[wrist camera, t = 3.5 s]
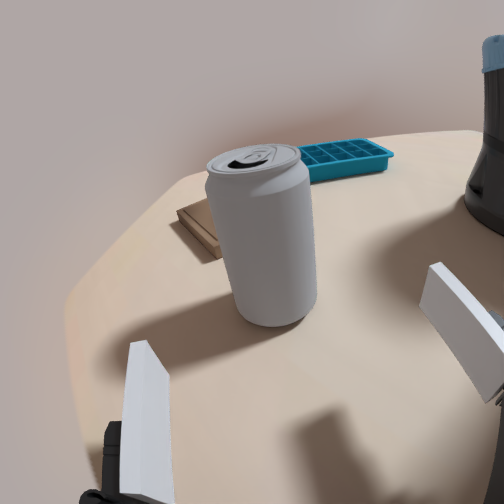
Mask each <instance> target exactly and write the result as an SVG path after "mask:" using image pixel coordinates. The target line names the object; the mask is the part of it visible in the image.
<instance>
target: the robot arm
mask: <svg viewBox="0 0 504 504" xmlns="http://www.w3.org/2000/svg"><path fill="white" fill-rule="evenodd" d="M482 52H483V69H482V73H484V85H485V87H484V90H485V91H484V93H485V102H484V105H485V106H484V133H483V145H482V149H481V151H480V154H479V156H478V159H477V161H476V163H475V166H474V168H473V170H472V172H471V175H470V177H469V179H468V181H467V184H466V191H465V197H464V201H465V204H466V207H467V208H468V210H469V211H470V212H471V213H472V214H473V215H474V216H475V217H476V218H477V219H478V220H479V221H481V222H482V223H483V224H485V225H486V226H488V227H489V228H491V229H493V230H494V231H496V232H498V233H500V234H502V235H504V35H495V36H491V37H488V38H487V39H486V40H485V41H484V42H483V46H482ZM419 308H420V309H421V310H422V311H423V313H424V314H425V315H426V317H427V318H428V319H429V321H430V322H431V323H432V325H433V326H434V327H435V329H436V330H437V332H438V333H439V334H440V336H441V337H442V338H443V340H444V341H445V343H446V344H447V345H448V347H449V348H450V350H451V351H452V353H453V354H454V356H455V357H456V358H457V360H458V361H459V363H460V364H461V366H462V367H463V369H464V370H465V372H466V373H467V375H468V376H469V378H470V379H471V381H472V383H473V384H474V386H475V387H476V389H477V390H478V392H479V394H480V395H481V397H482V399H483V400H484V402H485V404H486V403H487V402H488V401H490V400H491V399H493V398H494V397H495V396H497V394H498V393H499V392H500V391H501V390H502V389H503V390H504V319H503V318H502V317H501V316H500V315H498V314H497V313H495V312H494V311H492V310H491V311H489V312H487V311H486V310H485V308H484V307H483V306H482V305H481V304H480V303H479V302H478V300H477V299H476V298H475V297H474V296H473V295H472V294H471V293H470V292H469V291H468V290H467V288H466V287H465V286H464V285H463V284H462V283H461V282H460V281H459V280H458V279H457V278H456V277H455V276H454V275H453V274H452V273H451V272H450V271H449V270H448V269H447V268H446V267H445V266H444V265H443V264H442V263H441V262H438V263H435V264H433V265H430V266H429V269H428V273H427V278H426V282H425V286H424V290H423V294H422V297H421V301H420V305H419ZM501 401H502V402H501ZM500 402H501V403H500ZM499 403H500V405H499V406H502V408H501V419H500V427H499V435H498V442H497V448H496V453H495V459H494V464H493V469H492V473H491V477H490V481H489V485H488V489H487V493H486V497H485V500H484V503H483V504H504V392H503V393H502V394H501V396H500V397H499V398H498V399H497V401H496V403H495V405H496V406H497V405H498V404H499ZM103 455H104V456H103V465H102V489H101V491H98V490H96V489H90V490H87V491H85V492H84V493H83V494H82V495H81V497H80V500H79V504H175V499H174V488H173V475H172V459H171V439H170V402H169V374H168V372H167V371H166V370H165V368H164V367H163V365H162V364H161V362H160V361H159V359H158V358H157V356H156V354H155V353H154V351H153V350H152V348H151V347H150V345H149V344H148V342H147V340H143V341H137V342H131V343H130V349H129V356H128V364H127V372H126V381H125V391H124V401H123V413H122V421H110V422H109V424H108V427H107V429H106V431H105V435H104V448H103Z"/></svg>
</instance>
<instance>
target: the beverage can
mask: <svg viewBox="0 0 504 504" xmlns="http://www.w3.org/2000/svg"><path fill="white" fill-rule="evenodd" d="M300 158H301V153H300V150H299V149H298V148H297V147H294V146H291V145H286V144H261V145H253V146H247V147H243V148H239V149H235V150H231V151H228V152H226V153H223V154H221V155H219V156H217V157H215V158H213V159H212V160H210V161H209V162H208V164H207V166H206V167H207V172H208V173H209V176H208V179H207V181H206V184H205V190H206V194H207V198H208V202H209V206H210V210H211V214H212V218H213V222H214V226H215V229H216V233H217V237H218V241H219V245H220V248H221V252H222V256H223V259H224V263H225V267H226V271H227V274H228V278H229V281H230V285H231V289H232V292H233V296H234V299H235V303H236V306H237V309H238V311H239V313H240V314H241V315H242V316H243V317H244V318H245V319H246V320H248V321H250V322H251V323H254V324H257V325H260V326H266V327H278V326H284V325H288V324H291V323H294V322H296V321H298V320H300V319H301V318H303V317H304V316H305V315H307V314H308V313H309V312H310V311H311V309H312V308H313V306H314V304H315V302H316V298H317V282H316V261H315V243H314V227H313V213H312V201H311V189H310V178H309V170H308V168H307V167H306V165H305V164H304V163H303V162H302V161H301V160H300Z"/></svg>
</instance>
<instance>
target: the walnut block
mask: <svg viewBox="0 0 504 504" xmlns="http://www.w3.org/2000/svg"><path fill="white" fill-rule="evenodd" d="M176 212H177V215H178V218H179V221H180V222H181V223H182V224H183V225H184V226H185V227H186V228H187V229H188V230H189V231H190V232H191V233H192V234H193V235H194V236H195V237H196V238H197V239H198V240H199V241H200V242H201V243H202V244H203V245H204V246H205V247H206V248H207V250H208V251H209V252H210V253H211V254H212V255H213V256H214V257H215V258H216V259H219V258H222V257H223V256H222V252H221V248H220V245H219V241H218V237H217V233H216V229H215V226H214V222H213V218H212V214H211V210H210V206H209V202H208V198H206V199H204V200H201V201H199V202H196V203H194V204H191V205H189V206H187V207H184V208H182V209H179V210H177V211H176Z"/></svg>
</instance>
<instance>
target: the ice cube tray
mask: <svg viewBox="0 0 504 504" xmlns="http://www.w3.org/2000/svg"><path fill="white" fill-rule="evenodd" d="M297 148H298V149H299V150H300V153H301V158H300V160H301V161H302V162H303V163H304V164H305V165H306V167H307V168H308V170H309V178H310V182H316V181H321V180H327V179H333V178H339V177H345V176H351V175H357V174H363V173H370V172H377V171H383V170H386V169H387V167H388V158H390V157H393V156H394V153H393V152H391V151H389V150H387V149H385V148H383V147H381V146H379V145H377V144H375V143H373V142H371V141H369V140H367V139H362V138H358V139H349V140H342V141H333V142H326V143H319V144H312V145H305V146H299V147H297Z"/></svg>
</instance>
